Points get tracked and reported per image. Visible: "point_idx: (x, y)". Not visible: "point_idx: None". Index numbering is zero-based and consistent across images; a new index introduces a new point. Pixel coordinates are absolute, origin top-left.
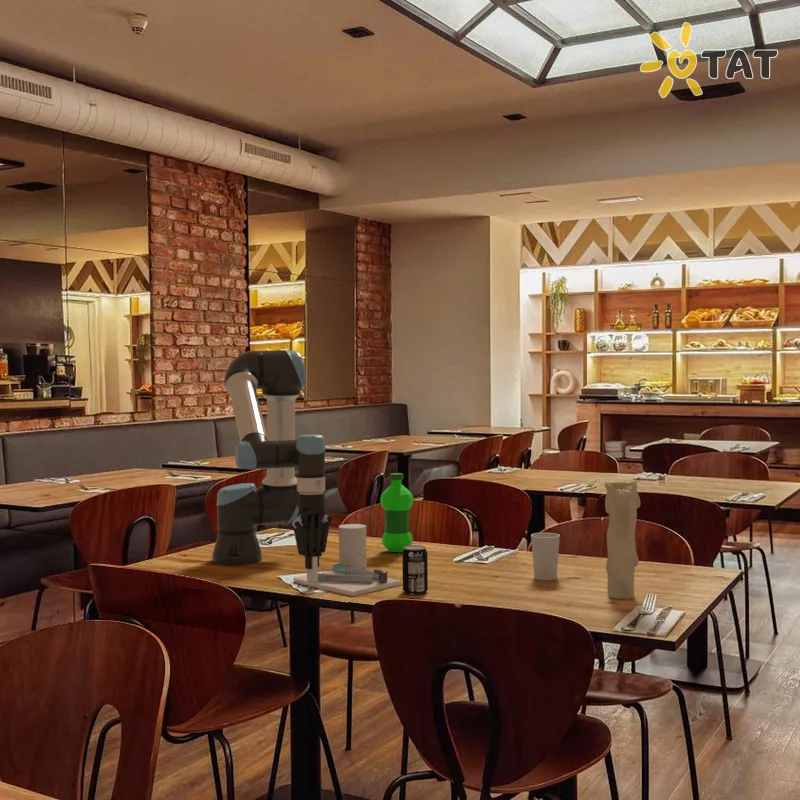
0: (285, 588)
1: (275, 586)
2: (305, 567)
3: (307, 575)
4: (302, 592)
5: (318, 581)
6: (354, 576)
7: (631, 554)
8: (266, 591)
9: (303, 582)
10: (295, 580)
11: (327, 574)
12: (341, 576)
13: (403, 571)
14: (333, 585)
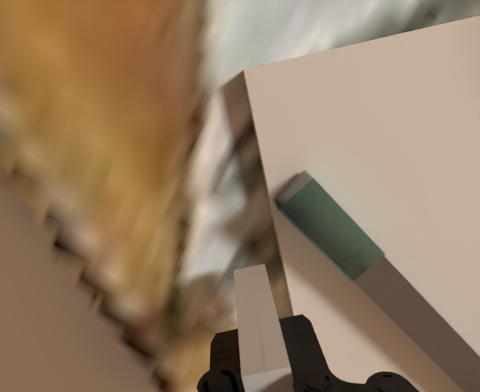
0: (141, 176)
1: (109, 97)
2: (212, 341)
3: (236, 288)
4: (179, 297)
5: None
6: (451, 378)
7: None
8: (22, 181)
9: (261, 161)
10: (246, 88)
11: (370, 275)
12: (408, 335)
13: None
14: (327, 344)
